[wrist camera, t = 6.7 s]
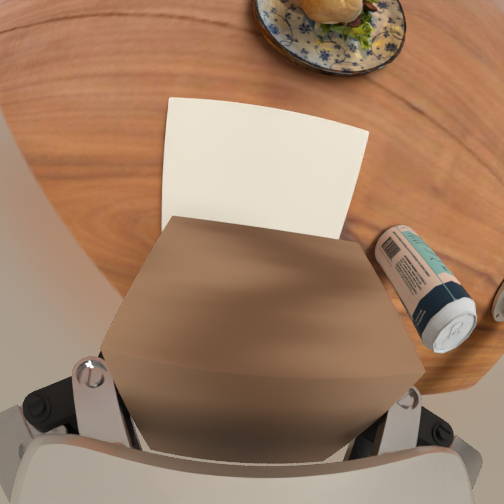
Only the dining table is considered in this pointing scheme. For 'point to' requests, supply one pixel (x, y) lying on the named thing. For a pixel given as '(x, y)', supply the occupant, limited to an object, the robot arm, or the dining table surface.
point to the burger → (333, 33)
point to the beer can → (426, 289)
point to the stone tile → (259, 166)
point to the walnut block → (256, 344)
